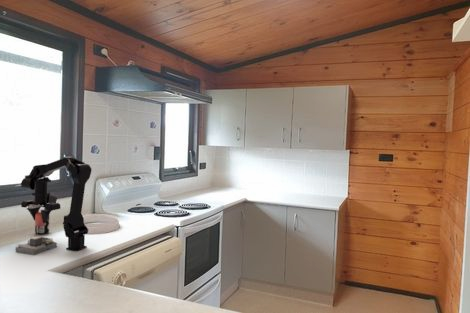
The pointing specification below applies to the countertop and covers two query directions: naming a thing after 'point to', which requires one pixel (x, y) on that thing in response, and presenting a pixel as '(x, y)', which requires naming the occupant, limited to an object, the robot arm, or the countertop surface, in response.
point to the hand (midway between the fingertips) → (40, 222)
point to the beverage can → (42, 227)
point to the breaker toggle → (35, 241)
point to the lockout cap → (39, 219)
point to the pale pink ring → (101, 227)
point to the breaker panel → (46, 245)
